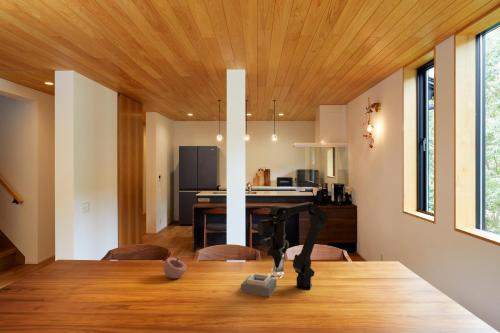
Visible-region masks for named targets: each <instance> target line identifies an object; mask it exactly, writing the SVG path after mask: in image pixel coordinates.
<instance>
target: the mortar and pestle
mask: <svg viewBox="0 0 500 333" xmlns="http://www.w3.org/2000/svg"><path fill="white" fill-rule="evenodd" d="M163 272H164V274H165V275H166V276H167V278H169V279H179V278H181V277H182V276H184V274H185V273H186V272H187V264H186V263H185V262H183V260H181V258H180V256H177V258H176V257H173V256H172V257H167V259H165V261H164V263H163Z"/></svg>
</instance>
